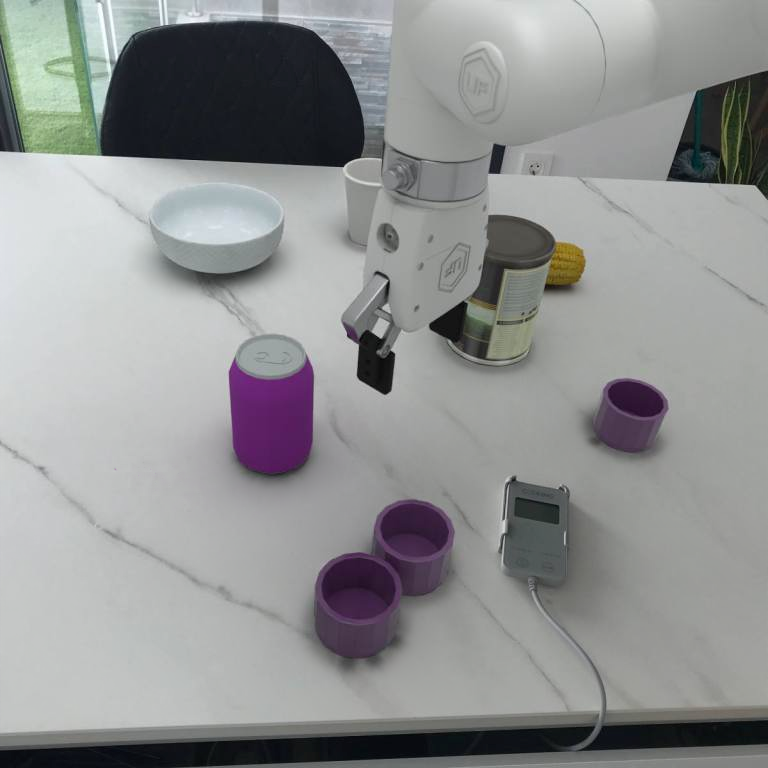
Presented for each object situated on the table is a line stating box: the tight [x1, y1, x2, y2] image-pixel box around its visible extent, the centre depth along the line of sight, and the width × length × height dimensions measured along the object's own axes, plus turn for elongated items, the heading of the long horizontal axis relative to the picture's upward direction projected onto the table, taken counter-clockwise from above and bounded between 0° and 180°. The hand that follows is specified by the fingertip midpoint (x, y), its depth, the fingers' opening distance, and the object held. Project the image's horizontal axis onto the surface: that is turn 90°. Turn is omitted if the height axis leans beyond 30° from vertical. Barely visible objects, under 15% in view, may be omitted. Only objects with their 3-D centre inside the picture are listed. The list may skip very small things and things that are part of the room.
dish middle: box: [370, 498, 456, 596], centre depth 65 cm, size 7×7×4 cm
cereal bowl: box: [148, 182, 285, 275], centre depth 101 cm, size 17×17×7 cm
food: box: [545, 241, 587, 286], centre depth 102 cm, size 21×6×6 cm, turn 92°
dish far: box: [592, 377, 670, 453], centre depth 81 cm, size 7×7×4 cm
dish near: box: [313, 551, 403, 659], centre depth 61 cm, size 7×7×4 cm
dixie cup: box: [342, 157, 382, 247], centre depth 108 cm, size 8×8×10 cm
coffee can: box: [446, 214, 557, 367], centre depth 89 cm, size 10×10×14 cm
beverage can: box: [228, 333, 315, 475], centre depth 72 cm, size 8×8×12 cm
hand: (411, 359), depth 65 cm, fingers open, 9 cm apart
